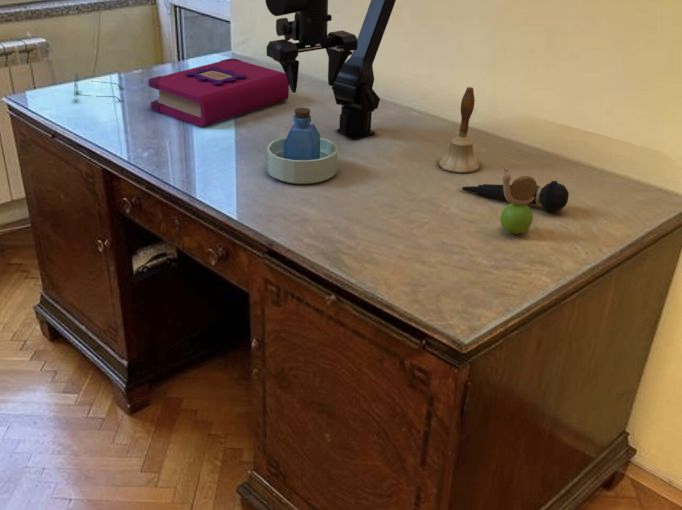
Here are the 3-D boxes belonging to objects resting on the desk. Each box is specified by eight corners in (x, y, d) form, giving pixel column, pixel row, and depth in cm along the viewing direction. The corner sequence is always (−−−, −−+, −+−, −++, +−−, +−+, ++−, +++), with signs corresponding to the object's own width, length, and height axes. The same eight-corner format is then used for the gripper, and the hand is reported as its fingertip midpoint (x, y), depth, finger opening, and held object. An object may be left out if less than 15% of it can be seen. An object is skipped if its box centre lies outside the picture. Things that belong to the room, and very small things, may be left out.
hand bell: (454, 155, 165) (463, 79, 156) (487, 165, 161) (498, 88, 151) (430, 165, 161) (439, 87, 152) (463, 176, 156) (474, 97, 147)
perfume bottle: (314, 175, 155) (315, 116, 148) (283, 173, 156) (283, 114, 149) (319, 164, 160) (320, 106, 153) (290, 161, 160) (290, 104, 154)
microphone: (459, 208, 150) (564, 220, 141) (456, 185, 146) (563, 195, 137) (469, 191, 153) (572, 201, 144) (466, 167, 149) (572, 176, 139)
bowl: (312, 154, 166) (312, 131, 163) (350, 176, 156) (351, 152, 153) (254, 167, 159) (253, 143, 156) (290, 191, 150) (290, 166, 147)
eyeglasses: (121, 87, 203) (119, 68, 201) (120, 102, 193) (118, 82, 190) (77, 89, 202) (74, 70, 199) (74, 104, 192) (71, 84, 189)
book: (289, 102, 194) (289, 71, 190) (204, 129, 178) (202, 96, 173) (232, 84, 206) (231, 55, 202) (148, 108, 189) (145, 77, 185)
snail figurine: (489, 225, 138) (499, 161, 131) (524, 224, 138) (536, 160, 131) (497, 239, 133) (509, 173, 126) (534, 238, 134) (547, 172, 127)
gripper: (329, -4, 161) (327, 73, 170) (251, 6, 153) (253, 86, 162) (361, 6, 153) (357, 85, 162) (280, 16, 145) (281, 100, 154)
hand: (312, 88), depth 160 cm, fingers open, 9 cm apart
